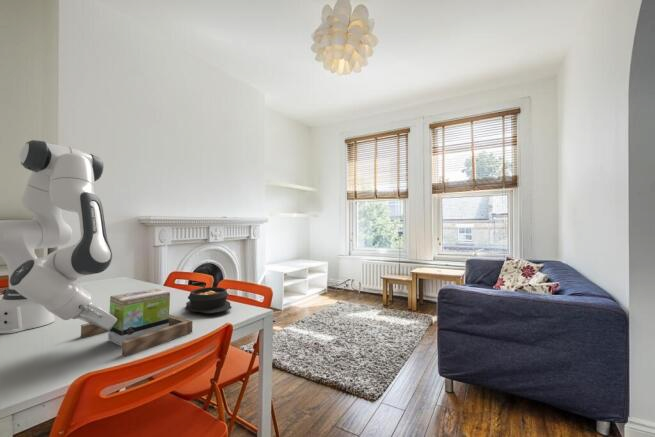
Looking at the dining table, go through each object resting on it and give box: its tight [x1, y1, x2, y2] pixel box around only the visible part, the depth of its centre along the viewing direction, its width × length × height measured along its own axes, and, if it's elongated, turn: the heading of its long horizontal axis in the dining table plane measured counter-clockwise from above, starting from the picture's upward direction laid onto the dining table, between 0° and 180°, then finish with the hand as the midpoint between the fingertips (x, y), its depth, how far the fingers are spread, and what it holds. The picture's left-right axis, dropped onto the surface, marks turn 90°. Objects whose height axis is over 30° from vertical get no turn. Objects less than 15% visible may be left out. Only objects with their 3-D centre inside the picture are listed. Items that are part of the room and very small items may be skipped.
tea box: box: [107, 288, 171, 347], centre depth 101 cm, size 15×10×15 cm
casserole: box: [185, 286, 233, 314], centre depth 132 cm, size 25×19×8 cm
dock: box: [80, 314, 194, 358], centre depth 102 cm, size 22×28×4 cm
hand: (109, 326), depth 95 cm, fingers closed
